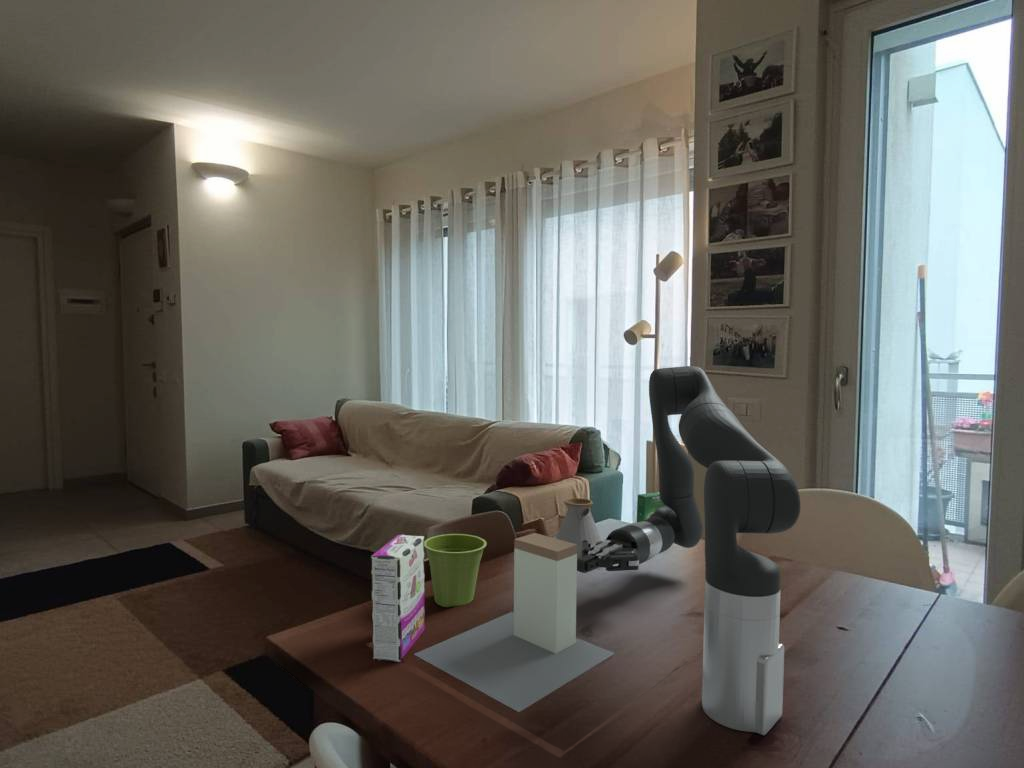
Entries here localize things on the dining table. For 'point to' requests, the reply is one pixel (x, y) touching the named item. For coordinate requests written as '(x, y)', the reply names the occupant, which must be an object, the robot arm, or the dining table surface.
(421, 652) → the rubber mat
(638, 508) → the coffee box
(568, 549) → the cream block
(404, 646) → the candy bar box
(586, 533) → the coffee pot
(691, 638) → the dining table surface
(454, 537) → the plant pot
